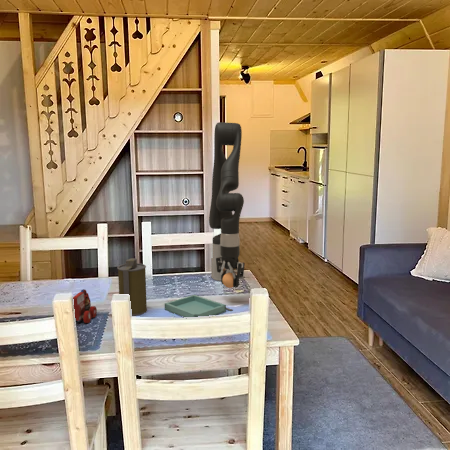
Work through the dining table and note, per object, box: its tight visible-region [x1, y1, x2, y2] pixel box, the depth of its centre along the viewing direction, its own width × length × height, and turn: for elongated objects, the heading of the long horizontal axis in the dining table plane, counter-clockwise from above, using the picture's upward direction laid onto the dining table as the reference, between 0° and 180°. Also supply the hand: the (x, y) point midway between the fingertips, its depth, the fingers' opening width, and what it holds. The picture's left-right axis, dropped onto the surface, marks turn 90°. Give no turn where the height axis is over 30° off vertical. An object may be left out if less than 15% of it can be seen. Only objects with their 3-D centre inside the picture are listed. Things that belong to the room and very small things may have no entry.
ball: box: [222, 273, 234, 289], centre depth 174 cm, size 6×6×6 cm
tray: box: [164, 294, 227, 318], centre depth 166 cm, size 18×15×2 cm
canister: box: [116, 257, 148, 317], centre depth 164 cm, size 11×10×20 cm
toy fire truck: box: [72, 289, 98, 324], centre depth 157 cm, size 7×12×10 cm, turn 175°
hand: (229, 285), depth 175 cm, fingers closed on ball, 6 cm apart
